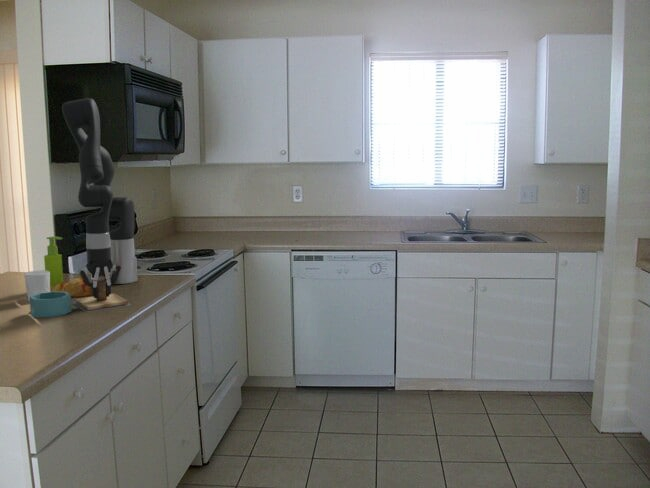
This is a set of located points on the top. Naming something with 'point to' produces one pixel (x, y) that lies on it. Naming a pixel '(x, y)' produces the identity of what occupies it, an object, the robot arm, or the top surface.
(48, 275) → the white cup
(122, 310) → the top surface
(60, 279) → the soap dispenser
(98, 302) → the lid
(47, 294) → the bowl
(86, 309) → the mat
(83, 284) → the croissant
